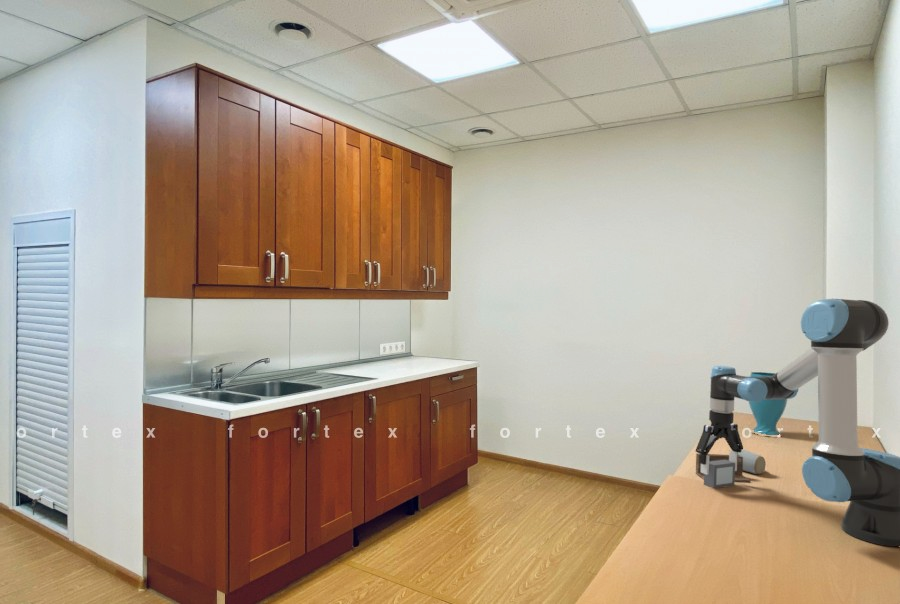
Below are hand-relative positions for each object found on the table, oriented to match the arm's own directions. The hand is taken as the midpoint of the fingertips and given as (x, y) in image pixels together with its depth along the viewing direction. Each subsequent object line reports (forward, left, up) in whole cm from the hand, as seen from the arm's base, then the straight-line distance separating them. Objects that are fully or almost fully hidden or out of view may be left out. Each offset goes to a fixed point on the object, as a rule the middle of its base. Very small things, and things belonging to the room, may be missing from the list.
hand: (718, 471), depth 188 cm
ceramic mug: (+18, -21, -5) cm, 28 cm away
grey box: (0, 0, -5) cm, 5 cm away
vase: (+84, -62, -5) cm, 104 cm away
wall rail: (+8, -5, -4) cm, 10 cm away
